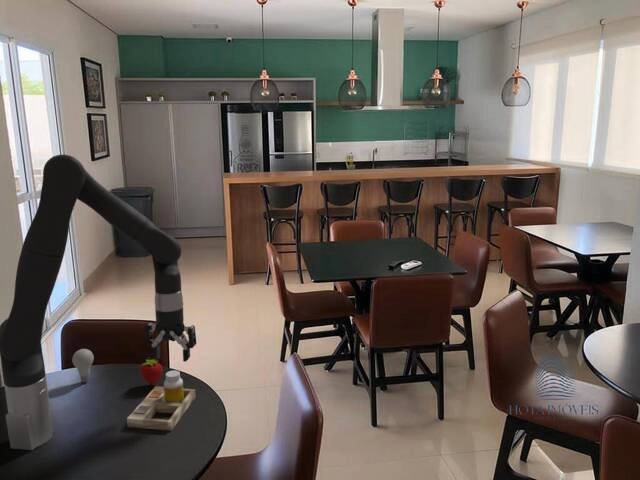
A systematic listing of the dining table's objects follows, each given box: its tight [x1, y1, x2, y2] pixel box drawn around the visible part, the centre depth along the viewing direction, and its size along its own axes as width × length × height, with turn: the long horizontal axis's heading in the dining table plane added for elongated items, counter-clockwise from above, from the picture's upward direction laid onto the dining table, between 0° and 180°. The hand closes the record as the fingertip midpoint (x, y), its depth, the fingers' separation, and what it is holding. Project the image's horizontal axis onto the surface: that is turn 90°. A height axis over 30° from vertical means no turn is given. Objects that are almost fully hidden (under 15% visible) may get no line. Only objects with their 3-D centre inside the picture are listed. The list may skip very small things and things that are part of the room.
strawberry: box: [139, 358, 164, 387], centre depth 161 cm, size 6×8×10 cm
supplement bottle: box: [163, 369, 185, 403], centre depth 151 cm, size 5×5×10 cm
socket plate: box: [126, 385, 197, 432], centre depth 148 cm, size 18×12×3 cm
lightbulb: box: [71, 348, 95, 383], centre depth 164 cm, size 6×6×11 cm
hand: (171, 359), depth 149 cm, fingers open, 8 cm apart
